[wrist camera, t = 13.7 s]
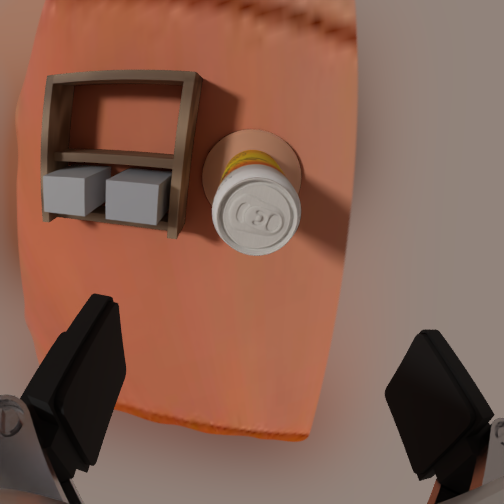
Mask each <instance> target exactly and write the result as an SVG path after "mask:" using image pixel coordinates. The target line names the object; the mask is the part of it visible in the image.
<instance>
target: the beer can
mask: <svg viewBox="0 0 504 504" xmlns="http://www.w3.org/2000/svg"><path fill="white" fill-rule="evenodd" d="M300 218H301V204H300V200H299V197H298V194H297V192H296V191H295V189H294V187H293V186H292V184H291V183H290V181H289V180H288V179H287V177H286V176H285V174H284V173H283V171H282V170H281V168H280V167H279V165H278V164H277V163H276V161H275V160H274V159H273V158H272V157H271V156H270V155H268V154H267V153H265V152H263V151H259V150H246V151H242V152H240V153H238V154H236V155H235V156H234V157H233V158H232V159H231V160H230V161H229V162H228V164H227V166H226V168H225V171H224V174H223V176H222V179H221V181H220V184H219V187H218V189H217V192H216V195H215V197H214V200H213V205H212V219H213V224H214V226H215V229H216V231H217V233H218V234H219V236H220V237H221V238H222V239H223V241H224V242H226V243H227V244H228V245H229V246H231V247H232V248H233V249H235V250H237V251H239V252H241V253H244V254H247V255H254V256H260V255H266V254H270V253H273V252H275V251H277V250H279V249H280V248H282V247H283V246H284V245H285V244H286V243H287V242H288V241H289V240H290V239H291V238H292V236H293V235H294V233H295V232H296V230H297V228H298V225H299V223H300Z"/></svg>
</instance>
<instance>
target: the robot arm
mask: <svg viewBox="0 0 504 504" xmlns="http://www.w3.org/2000/svg"><path fill="white" fill-rule="evenodd" d="M125 375H126V363H125V356H124V349H123V341H122V333H121V324H120V314H119V305H118V303H115V302H113V298H112V297H110V296H105V295H99V294H92V295H91V297H90V298H89V299H88V301H87V302H86V304H85V305H84V306H83V308H82V309H81V311H80V312H79V314H78V315H77V316H76V318H75V319H74V321H73V322H72V324H71V325H70V327H69V328H68V330H67V331H66V332H63V333H61V334H60V335H59V337H58V338H57V340H56V341H55V343H54V344H53V346H52V347H51V349H50V350H49V352H48V353H47V355H46V357H45V358H44V360H43V361H42V363H41V364H40V366H39V368H38V369H37V371H36V373H35V374H34V376H33V377H32V379H31V381H30V383H29V384H28V386H27V388H26V389H25V391H24V393H23V395H22V396H21V398H20V399H19V398H17V397H15V396H12V395H0V504H84V502H83V501H82V498H81V497H80V495H79V493H78V491H77V489H76V487H75V485H74V483H73V481H72V478H73V477H74V474H75V471H76V469H78V470H81V471H84V472H88V469H89V465H92V466H94V465H95V464H96V462H97V458H98V455H99V452H100V449H101V446H102V443H103V439H104V436H105V433H106V430H107V427H108V424H109V421H110V418H111V416H112V413H113V410H114V407H115V404H116V401H117V398H118V396H119V393H120V390H121V387H122V385H123V382H124V379H125ZM385 398H386V401H387V403H388V406H389V408H390V411H391V413H392V415H393V418H394V421H395V423H396V426H397V428H398V431H399V434H400V436H401V439H402V442H403V444H404V447H405V450H406V452H407V455H408V458H409V461H410V463H411V466H412V469H413V471H414V473H416V474H417V476H418V478H419V481H421V480H424V479H427V478H431V477H432V476H434V475H435V474H436V477H437V479H436V482H435V484H434V487H433V490H432V493H431V495H430V498H429V501H428V503H427V504H504V418H498V419H496V420H494V421H493V423H492V424H491V425H490V424H489V423H488V422H489V421H490V420H491V418H492V417H493V416H494V413H493V412H492V410H491V408H490V406H489V405H488V403H487V402H486V400H485V399H484V397H483V395H482V394H481V392H480V390H479V389H478V387H477V386H476V384H475V382H474V381H473V379H472V378H471V376H470V375H469V373H468V372H467V370H466V369H465V367H464V366H463V364H462V363H461V361H460V360H459V358H458V357H457V356H456V354H455V353H454V351H453V350H452V348H451V347H450V346H449V344H448V343H447V341H446V340H445V338H444V337H443V336H442V334H441V333H440V332H439V331H438V330H422V331H421V332H420V333H419V334H417V336H416V337H415V338H414V340H413V342H412V344H411V346H410V348H409V349H408V351H407V353H406V355H405V357H404V359H403V360H402V362H401V364H400V366H399V367H398V369H397V371H396V373H395V374H394V376H393V378H392V379H391V381H390V383H389V384H388V386H387V388H386V390H385Z"/></svg>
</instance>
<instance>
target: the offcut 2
mask: <svg viewBox="0 0 504 504" xmlns="http://www.w3.org/2000/svg"><path fill="white" fill-rule="evenodd" d="M171 179H172V172H170V171H160V170H149V169H138V168H129V169H127V170H125V171H123V172H121V173H119V174H117V175H115V176H113V177H111V178H109V179H107V180H106V219H110V220H118V221H126V222H134V223H142V224H150V225H157V224H158V222H159V221H160V220H161V219H162V217H163V216H164V215H165V213H166V212H167V211H168V210H169V202H170V190H171Z"/></svg>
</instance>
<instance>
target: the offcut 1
mask: <svg viewBox="0 0 504 504" xmlns="http://www.w3.org/2000/svg"><path fill="white" fill-rule="evenodd" d="M109 178H111V166H97V165H80V164H73V165H70V166H67V167H64V168H62V169H59V170H57V171H54V172H51V173H49V174H46V175H44V176H43V198H44V212H51V213H60V214H68V215H77V216H86V215H87V214H89V213H90V212H92V211H93V210H94V209H96V208H97V207H99V206H100V205H102V204H103V203H104V202H106V180H107V179H109Z"/></svg>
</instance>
